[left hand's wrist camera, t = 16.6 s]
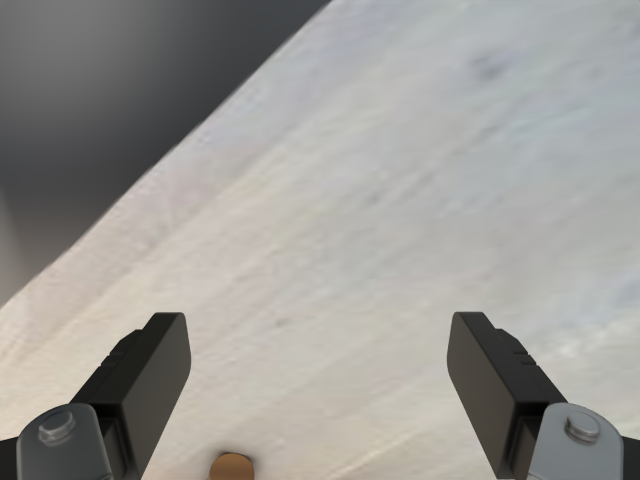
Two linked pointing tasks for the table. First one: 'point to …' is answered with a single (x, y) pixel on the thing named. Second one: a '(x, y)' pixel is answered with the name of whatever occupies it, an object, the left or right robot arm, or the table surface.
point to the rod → (231, 468)
